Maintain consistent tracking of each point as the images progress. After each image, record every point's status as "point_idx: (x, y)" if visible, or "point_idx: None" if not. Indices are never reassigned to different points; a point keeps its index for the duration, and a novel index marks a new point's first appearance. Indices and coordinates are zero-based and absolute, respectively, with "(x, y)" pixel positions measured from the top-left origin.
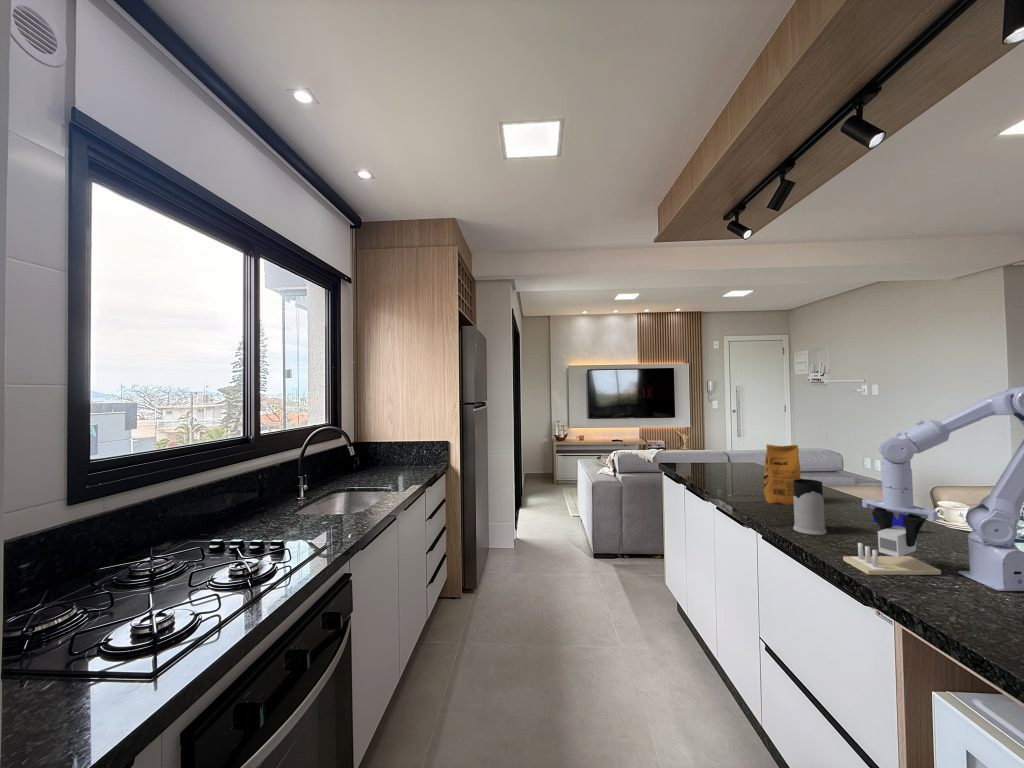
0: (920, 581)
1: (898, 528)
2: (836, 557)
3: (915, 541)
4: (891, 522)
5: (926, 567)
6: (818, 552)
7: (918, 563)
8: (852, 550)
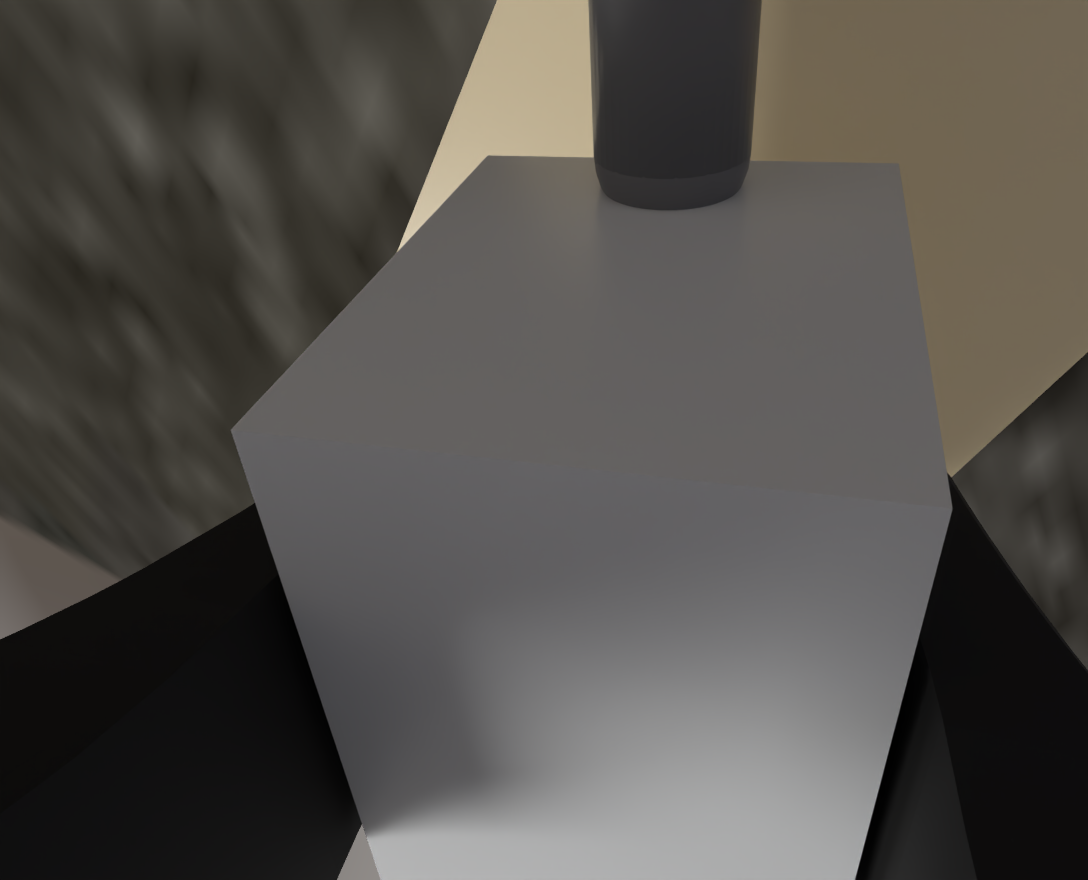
0: (1066, 596)
1: (501, 692)
2: (205, 506)
3: (977, 523)
4: (182, 702)
5: (1073, 190)
6: (51, 493)
7: (909, 81)
8: (24, 106)
